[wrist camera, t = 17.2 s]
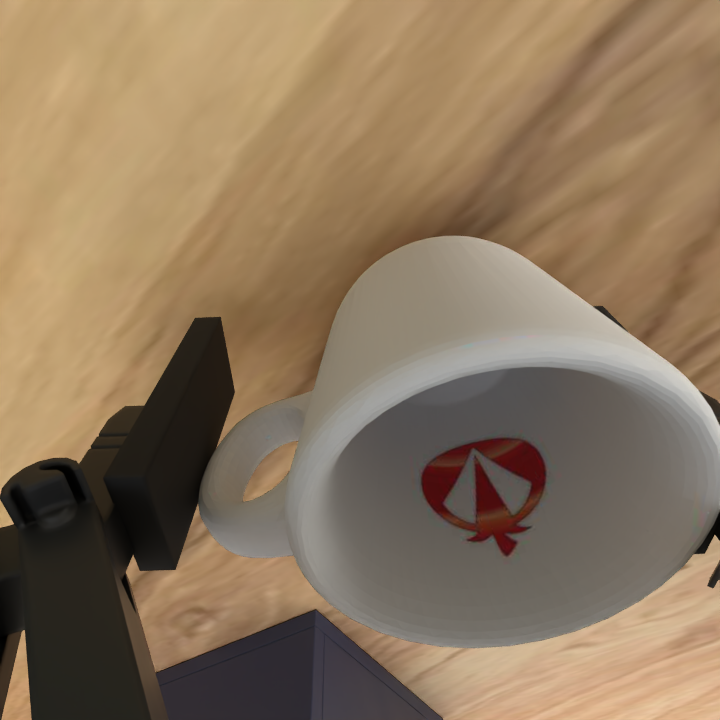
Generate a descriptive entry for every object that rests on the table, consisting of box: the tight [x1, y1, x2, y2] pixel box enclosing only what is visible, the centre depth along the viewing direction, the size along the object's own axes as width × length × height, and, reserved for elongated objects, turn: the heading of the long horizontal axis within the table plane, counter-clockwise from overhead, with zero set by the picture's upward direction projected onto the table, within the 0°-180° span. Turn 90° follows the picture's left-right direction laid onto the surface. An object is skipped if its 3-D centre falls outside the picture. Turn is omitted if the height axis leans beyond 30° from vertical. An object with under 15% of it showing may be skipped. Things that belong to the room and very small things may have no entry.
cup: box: [198, 236, 720, 648], centre depth 13 cm, size 11×8×8 cm
